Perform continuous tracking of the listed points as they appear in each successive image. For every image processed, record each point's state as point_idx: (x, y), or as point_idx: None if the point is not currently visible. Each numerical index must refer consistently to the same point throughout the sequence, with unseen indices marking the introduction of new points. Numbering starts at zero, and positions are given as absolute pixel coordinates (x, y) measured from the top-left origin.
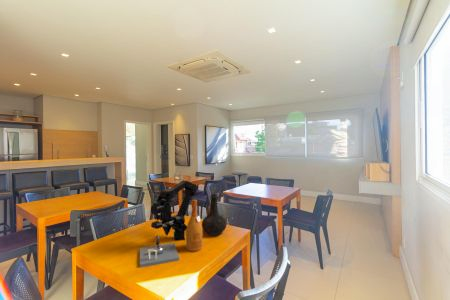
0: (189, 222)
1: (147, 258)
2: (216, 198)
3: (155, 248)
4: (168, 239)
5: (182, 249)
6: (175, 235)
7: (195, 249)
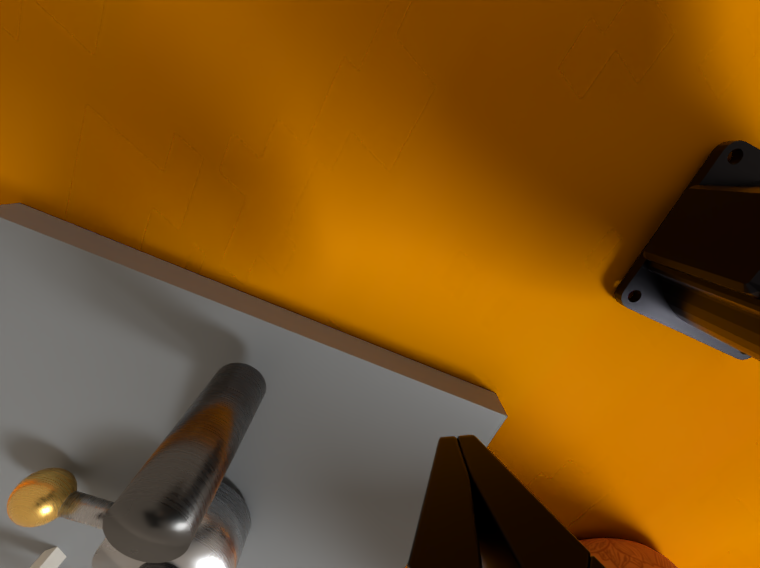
0: None
1: (35, 541)
2: None
3: (112, 566)
4: (591, 142)
5: None
6: (709, 292)
7: None
